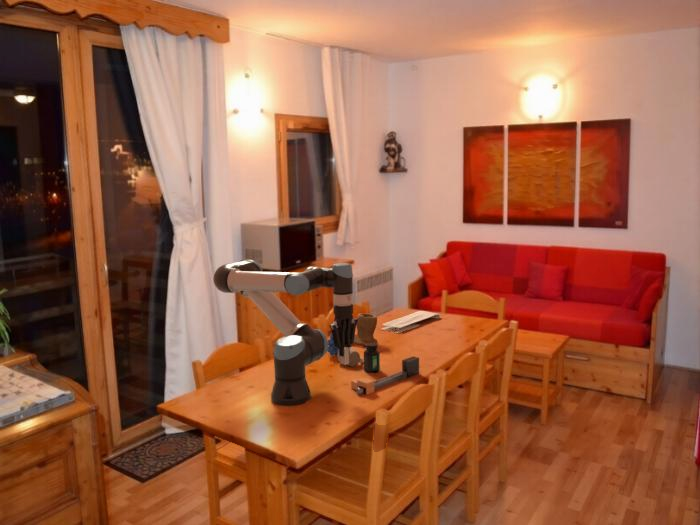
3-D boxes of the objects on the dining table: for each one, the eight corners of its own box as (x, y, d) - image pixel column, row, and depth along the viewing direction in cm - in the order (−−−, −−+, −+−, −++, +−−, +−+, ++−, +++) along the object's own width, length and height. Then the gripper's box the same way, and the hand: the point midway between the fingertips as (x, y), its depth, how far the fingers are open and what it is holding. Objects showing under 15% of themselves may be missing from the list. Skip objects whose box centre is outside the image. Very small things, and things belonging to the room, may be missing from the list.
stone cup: (382, 342, 300) (381, 312, 298) (370, 348, 290) (370, 318, 288) (356, 338, 308) (355, 309, 305) (343, 344, 298) (343, 314, 295)
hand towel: (380, 323, 322) (422, 309, 351) (380, 330, 322) (422, 315, 352) (398, 327, 314) (440, 312, 343) (398, 334, 314) (440, 319, 344)
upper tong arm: (360, 396, 230) (359, 378, 229) (354, 394, 233) (354, 376, 232) (419, 373, 253) (419, 357, 252) (413, 372, 256) (413, 356, 254)
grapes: (335, 350, 289) (335, 325, 287) (347, 352, 285) (346, 327, 283) (320, 356, 279) (320, 331, 277) (332, 359, 275) (331, 333, 273)
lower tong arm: (368, 393, 233) (367, 376, 232) (365, 392, 234) (365, 375, 233) (419, 373, 253) (419, 357, 252) (416, 373, 254) (416, 357, 253)
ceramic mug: (348, 368, 262) (348, 351, 261) (337, 364, 268) (337, 347, 267) (367, 363, 268) (367, 347, 267) (355, 359, 275) (355, 343, 274)
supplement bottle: (378, 374, 254) (378, 347, 252) (362, 373, 256) (362, 346, 254) (380, 368, 261) (380, 342, 259) (365, 368, 262) (364, 341, 260)
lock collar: (367, 394, 231) (366, 383, 230) (350, 388, 238) (350, 377, 237) (374, 391, 234) (374, 380, 233) (357, 385, 240) (357, 375, 240)
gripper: (336, 308, 220) (338, 370, 224) (362, 302, 229) (363, 361, 233) (323, 305, 226) (325, 365, 230) (349, 299, 235) (350, 357, 239)
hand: (344, 363), depth 231 cm, fingers closed
